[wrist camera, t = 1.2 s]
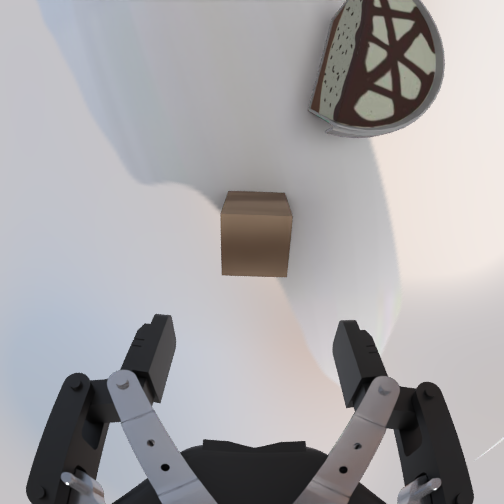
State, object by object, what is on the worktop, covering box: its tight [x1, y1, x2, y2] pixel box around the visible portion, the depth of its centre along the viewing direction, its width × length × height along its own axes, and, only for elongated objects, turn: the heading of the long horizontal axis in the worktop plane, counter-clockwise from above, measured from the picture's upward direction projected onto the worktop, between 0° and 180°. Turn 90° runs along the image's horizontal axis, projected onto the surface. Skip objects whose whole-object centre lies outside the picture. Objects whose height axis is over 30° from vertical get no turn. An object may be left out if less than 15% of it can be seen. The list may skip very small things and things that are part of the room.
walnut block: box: [221, 191, 293, 277], centre depth 23 cm, size 5×5×6 cm
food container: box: [308, 0, 445, 138], centre depth 15 cm, size 12×6×10 cm, turn 167°
